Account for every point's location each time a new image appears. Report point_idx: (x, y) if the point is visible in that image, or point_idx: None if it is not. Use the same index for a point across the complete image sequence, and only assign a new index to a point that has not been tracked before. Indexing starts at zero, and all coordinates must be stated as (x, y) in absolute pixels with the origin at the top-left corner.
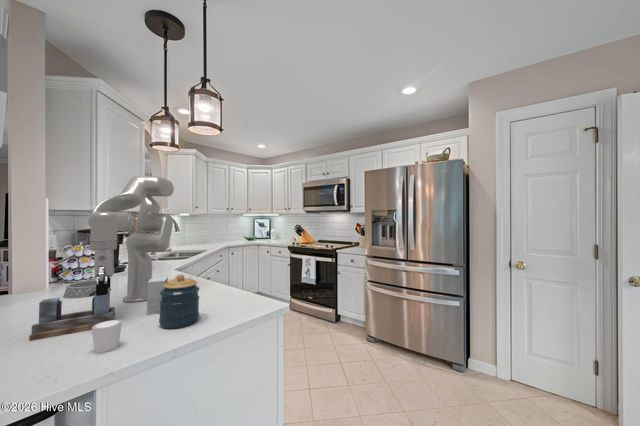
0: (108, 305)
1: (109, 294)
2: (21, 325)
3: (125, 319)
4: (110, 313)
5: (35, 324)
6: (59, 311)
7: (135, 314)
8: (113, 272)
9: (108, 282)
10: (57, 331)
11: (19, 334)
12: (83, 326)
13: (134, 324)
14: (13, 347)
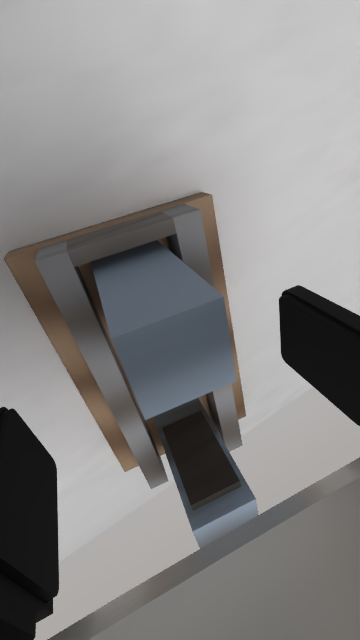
0: (182, 263)
1: (162, 309)
2: (76, 524)
3: (111, 147)
4: (202, 222)
5: (230, 446)
6: (210, 445)
7: (3, 95)
8: (309, 573)
9: (8, 477)
10: (238, 367)
11: (166, 467)
12: (226, 305)
13: (230, 51)
14: (266, 408)
